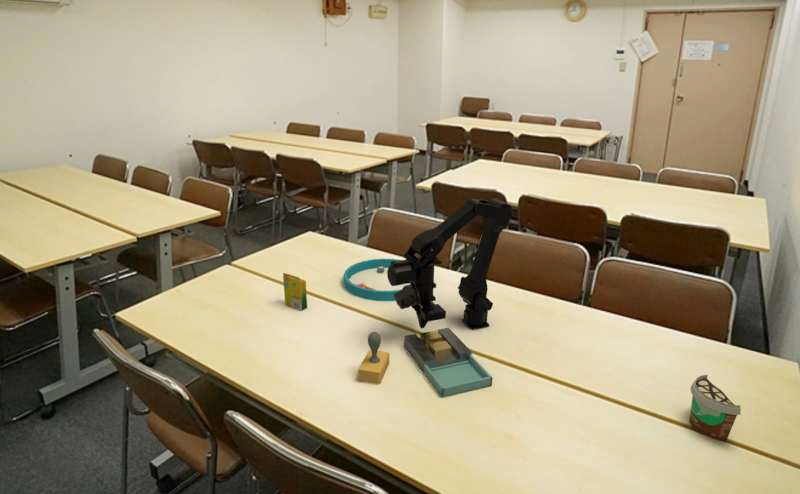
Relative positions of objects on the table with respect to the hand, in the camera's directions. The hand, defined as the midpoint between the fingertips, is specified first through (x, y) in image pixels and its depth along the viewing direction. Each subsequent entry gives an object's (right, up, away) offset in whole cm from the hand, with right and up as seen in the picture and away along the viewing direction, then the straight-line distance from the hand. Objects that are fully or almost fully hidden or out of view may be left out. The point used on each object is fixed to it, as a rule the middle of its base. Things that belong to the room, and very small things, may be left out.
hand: (422, 327), depth 155 cm
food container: (+62, -18, -34) cm, 73 cm away
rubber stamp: (-13, -9, -16) cm, 23 cm away
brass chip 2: (+4, -5, -10) cm, 12 cm away
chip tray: (+8, -10, -19) cm, 23 cm away
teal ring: (-12, +10, +37) cm, 40 cm away
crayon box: (-40, +4, +18) cm, 44 cm away
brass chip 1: (+2, -3, -5) cm, 6 cm away
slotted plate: (+4, -6, -8) cm, 11 cm away
